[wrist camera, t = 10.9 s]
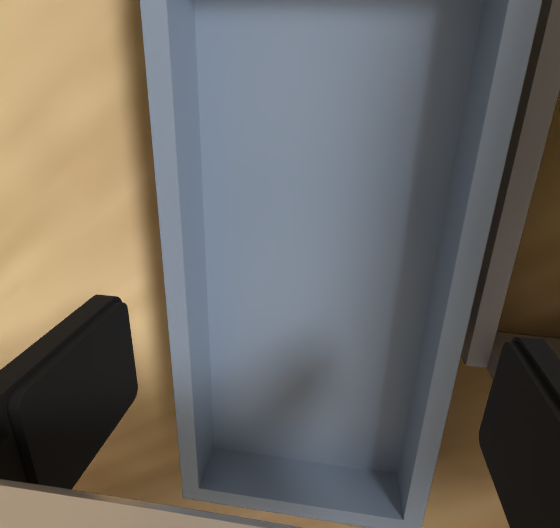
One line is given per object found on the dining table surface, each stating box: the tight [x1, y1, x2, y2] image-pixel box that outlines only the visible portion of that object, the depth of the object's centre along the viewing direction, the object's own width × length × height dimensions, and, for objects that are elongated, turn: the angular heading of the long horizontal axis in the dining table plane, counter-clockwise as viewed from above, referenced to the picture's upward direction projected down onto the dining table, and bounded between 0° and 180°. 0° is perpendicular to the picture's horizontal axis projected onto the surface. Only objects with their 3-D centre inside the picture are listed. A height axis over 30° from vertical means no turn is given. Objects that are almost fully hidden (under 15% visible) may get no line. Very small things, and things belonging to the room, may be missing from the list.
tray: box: [140, 0, 542, 528], centre depth 16 cm, size 11×23×3 cm, turn 178°
